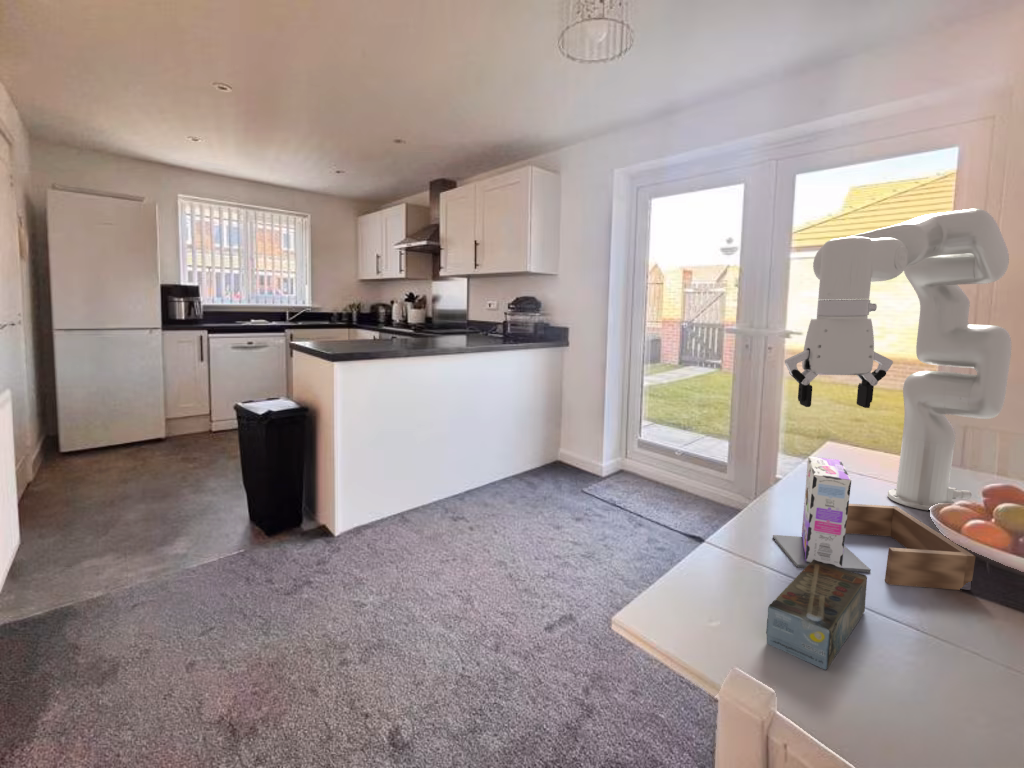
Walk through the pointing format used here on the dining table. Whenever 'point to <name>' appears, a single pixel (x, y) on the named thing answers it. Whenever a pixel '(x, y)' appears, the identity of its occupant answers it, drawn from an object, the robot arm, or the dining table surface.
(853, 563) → the mat
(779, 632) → the beverage carton
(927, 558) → the bracket
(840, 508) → the candy box
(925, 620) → the dining table surface
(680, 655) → the dining table surface
